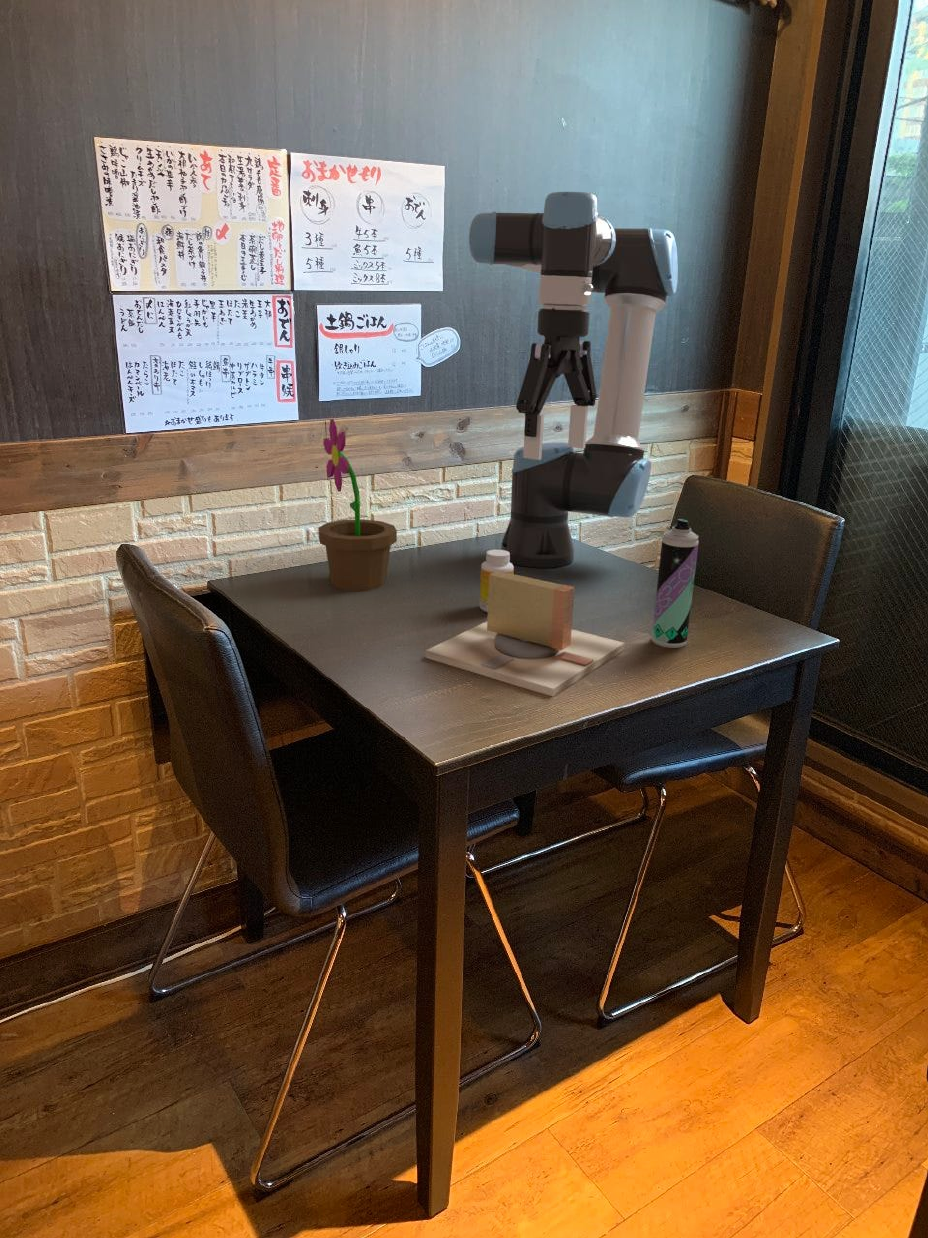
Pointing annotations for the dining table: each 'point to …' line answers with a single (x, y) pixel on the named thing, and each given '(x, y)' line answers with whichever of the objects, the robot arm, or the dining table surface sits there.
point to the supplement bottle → (493, 563)
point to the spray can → (675, 586)
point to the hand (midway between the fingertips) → (555, 452)
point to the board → (525, 658)
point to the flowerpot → (354, 533)
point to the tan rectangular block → (530, 609)
